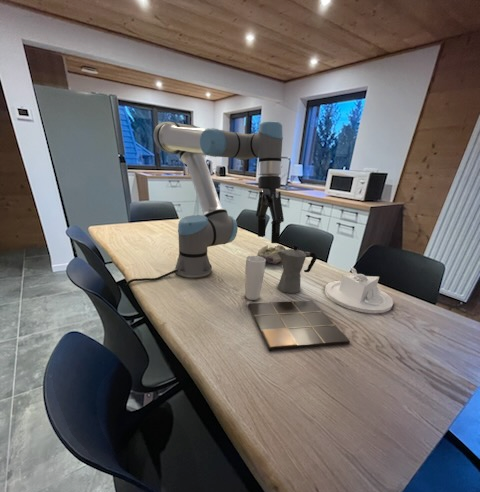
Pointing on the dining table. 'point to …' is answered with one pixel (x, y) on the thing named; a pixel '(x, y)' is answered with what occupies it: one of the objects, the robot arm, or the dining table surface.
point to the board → (295, 325)
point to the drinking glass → (254, 276)
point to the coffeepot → (293, 268)
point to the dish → (359, 293)
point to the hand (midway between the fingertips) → (268, 239)
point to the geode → (271, 253)
